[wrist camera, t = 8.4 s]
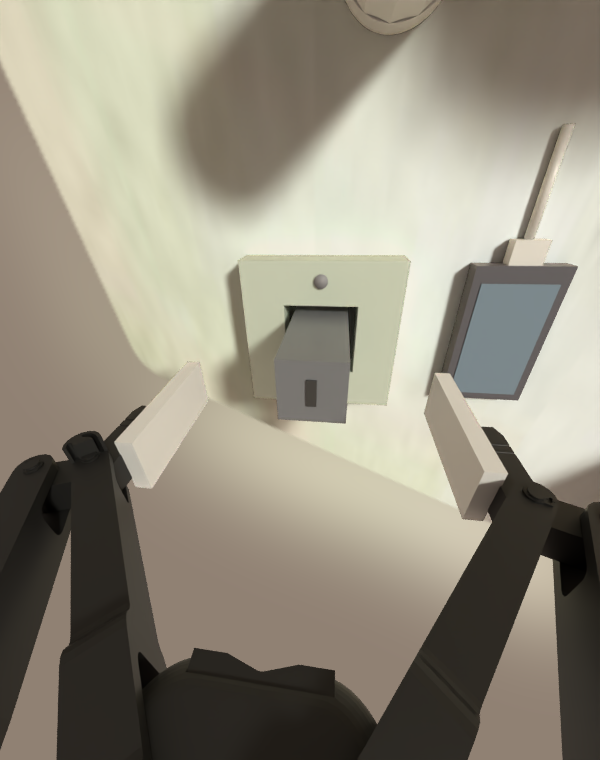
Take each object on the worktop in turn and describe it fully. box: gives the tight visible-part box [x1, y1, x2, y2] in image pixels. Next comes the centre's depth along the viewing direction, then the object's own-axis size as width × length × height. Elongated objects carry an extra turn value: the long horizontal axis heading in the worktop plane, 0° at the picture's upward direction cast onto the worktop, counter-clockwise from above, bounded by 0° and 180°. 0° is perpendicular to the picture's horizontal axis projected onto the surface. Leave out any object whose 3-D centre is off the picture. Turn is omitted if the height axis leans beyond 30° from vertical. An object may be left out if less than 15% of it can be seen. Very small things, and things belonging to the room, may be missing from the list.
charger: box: [274, 306, 350, 424], centre depth 21 cm, size 4×4×10 cm
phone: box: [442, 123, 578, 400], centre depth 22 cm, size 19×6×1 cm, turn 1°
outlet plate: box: [238, 255, 411, 406], centre depth 25 cm, size 12×12×3 cm
